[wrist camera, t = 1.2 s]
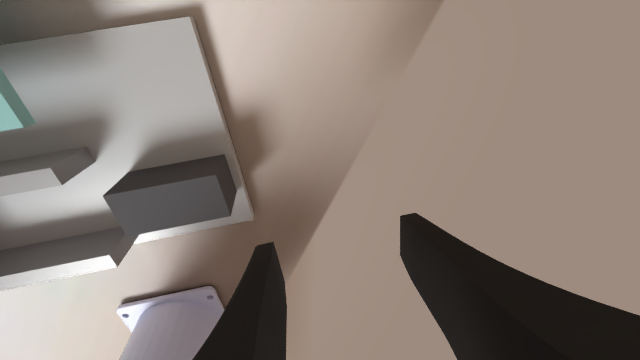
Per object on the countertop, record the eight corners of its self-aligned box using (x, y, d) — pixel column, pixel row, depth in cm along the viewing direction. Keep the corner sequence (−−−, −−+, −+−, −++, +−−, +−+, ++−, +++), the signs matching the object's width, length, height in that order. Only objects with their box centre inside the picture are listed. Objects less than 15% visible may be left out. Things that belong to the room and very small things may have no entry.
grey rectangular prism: (236, 191, 19) (230, 216, 16) (147, 208, 19) (127, 236, 16) (224, 154, 18) (215, 174, 15) (128, 171, 17) (102, 195, 15)
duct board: (254, 213, 21) (250, 247, 18) (5, 263, 20) (-50, 309, 16) (193, 17, 15) (169, 11, 11) (-175, 72, 14) (-321, 84, 10)
